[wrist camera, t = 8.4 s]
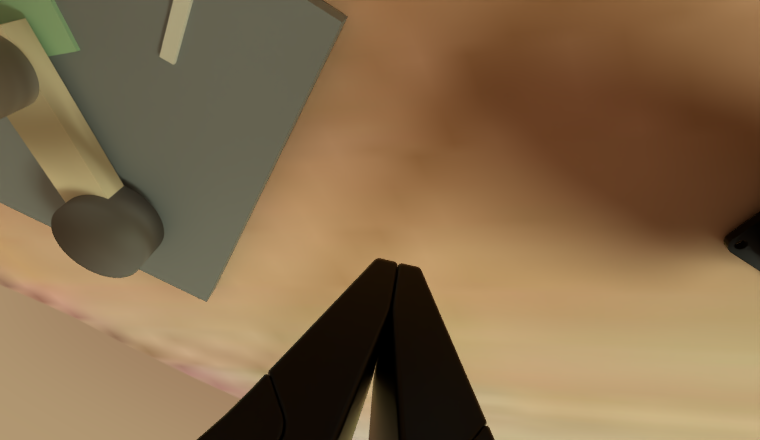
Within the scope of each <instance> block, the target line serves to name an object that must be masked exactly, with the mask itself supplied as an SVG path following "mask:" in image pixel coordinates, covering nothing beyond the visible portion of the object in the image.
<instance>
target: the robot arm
mask: <svg viewBox="0 0 760 440" xmlns="http://www.w3.org/2000/svg"><path fill="white" fill-rule="evenodd" d="M741 240H742V241H741ZM738 241H741V242H740V243H738V244H735V243H736V242H738ZM724 245H725V246H726V247H727V249H728V250H729V251H730V252H731V253H733V254H734V255H736V256H737V257H739V258H740V259H742V260H744V261H745V262H747V263H748V264H750V265H751V266H753V267H754V268H756V269H757V270H759V271H760V212H759V213H757V214H756V215H755V216H753V217H752V218H750V219H749V220H747V221H746V222H745V223H743V224H742V225H740V226H739V227H738V228H736V229H735V230H733V231H732V232H731V233H729V234H728V235H727V236H726V237H725V239H724ZM375 366H376V367H375ZM374 370H375V373H374ZM373 374H374V381H373V390H372V404H371V417H370V430H369V440H494V437H493V435H492V433H491V430H490V428H489V427H488V426H485V425H486V423H487V422H486V419H485V417H484V415H483V412H482V410H481V408H480V405H479V403H478V401H477V398H476V396H475V394H474V392H473V389H472V387H471V385H470V382H469V380H468V378H467V375H466V373H465V371H464V368H463V366H462V364H461V361H460V359H459V357H458V354H457V352H456V350H455V347H454V345H453V343H452V340H451V338H450V336H449V333H448V331H447V329H446V327H445V324H444V322H443V320H442V317H441V315H440V313H439V310H438V308H437V306H436V303H435V301H434V299H433V296H432V294H431V292H430V289H429V287H428V285H427V282H426V280H425V278H424V275H423V273H422V271H421V269H420V268H419V267H416V266H411V265H407V264H403V263H401V264H399V265H398V267H397V263H396V262H394V261H389V260H385V259H381V258H377V259H375V260H374V261H373V262H372V263H371V264H370V265H369V266H368V267H367V269H366V270H365V271H364V272H363V273H362V274H361V275H360V276H359V277H358V278H357V279H356V280H355V281H354V282H353V283H352V284H351V285H350V286H349V287H348V288H347V289H346V291H345V292H344V293H343V294H342V295H341V296H340V297H339V298H338V299H337V300H336V301H335V302H334V303H333V304H332V305H331V306H330V307H329V308H328V309H327V310H326V311H325V313H324V314H323V315H322V316H321V317H320V318H319V319H318V320H317V321H316V322H315V323H314V324H313V325H312V326H311V327H310V328H309V329H308V330H307V331H306V332H305V333H304V335H303V336H302V337H301V338H300V339H299V340H298V341H297V342H296V343H295V344H294V345H293V346H292V347H291V348H290V349H289V350H288V351H287V352H286V353H285V354H284V355H283V357H282V358H281V359H280V360H279V361H278V362H277V363H276V364H275V365H274V366H273V367H272V368H271V369H270V370H269V372H268V374H266V375H264V376H263V377H262V378H261V379H260V380H259V381H258V382H257V383H256V385H255V386H254V387H253V388H252V389H251V390H250V391H249V392H248V393H247V394H246V395H245V396H244V397H243V398H242V399H241V400H240V401H239V402H238V403H237V404H236V405H235V406H234V407H233V408H232V409H230V410H229V412H227V413H226V414H225V415H224V416H223V417H222V418H221V419H220V420H219V421H218V422H216V423H215V424H214V425H213V426H212V427H211V428H210V429H208V430H207V431H206V432H205V433H204V434H203V435H202V436H200V437H199V438H198V439H197V440H352V437H353V434H354V431H355V428H356V425H357V423H358V420H359V417H360V414H361V411H362V408H363V405H364V402H365V399H366V396H367V393H368V390H369V387H370V384H371V381H372V377H373Z"/></svg>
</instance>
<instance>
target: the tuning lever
mask: <svg viewBox="0 0 760 440" xmlns="http://www.w3.org/2000/svg"><path fill="white" fill-rule="evenodd" d="M6 116H7V118H8V119H9V121H10V122H11V124H12V125H13V126H14V128H15V129H16V131H17V132H18V134H19V135H20V137H21V138H22V140H23V141H24V143H25V144H26V146H27V147H28V148H29V150H30V151H31V153H32V154H33V156H34V157H35V159H36V160H37V162H38V163H39V165H40V166H41V167H42V169H43V170H44V172H45V173H46V175H47V176H48V178H49V179H50V181H51V182H52V184H53V185H54V186H55V188H56V189H57V191H58V192H59V194H60V195H61V197H62V198H63V200H64V201H65V204H64V205H62V206H61V207H60V208H59V209H57V210H56V211H55V213H54V214H53V216H52V219H51V228H52V232H53V235H54V237H55V239H56V241H57V243H58V244H59V246H60V247H61V248H62V250H63V251H64V252H65V253H66V254H67V255H68V256H69V257H70V258H71V259H73V260H74V261H75V262H76V263H78V264H79V265H81V266H82V267H84V268H86V269H88V270H90V271H92V272H94V273H97V274H99V275H103V276H107V277H113V278H122V277H128V276H130V275H133V274H134V273H135V272H137V271H138V269H139V268H140V267H141V266H142V265H143V264H144V263H145V261H146V260H147V259H148V258H149V257H150V256H151V255H152V253H153V252H154V251H155V250H156V249H157V248H158V247H159V246H160V244H161V243H162V241H163V238H164V227H163V223H162V220H161V218H160V216H159V214H158V213H157V211H156V210H155V209H154V207H153V206H152V205H151V204H150V203H149V202H148V201H147V200H146V199H145V198H144V197H142V196H141V195H140V194H138V193H137V192H135V191H134V190H132V189H130V188H128V187H126V186H124V185H123V183H122V182H121V180H120V178H119V177H118V175H117V173H116V172H115V170H114V168H113V166H112V165H111V163H110V161H109V160H108V158H107V156H106V154H105V153H104V151H103V149H102V148H101V146H100V144H99V143H98V141H97V139H96V137H95V136H94V134H93V132H92V131H91V129H90V127H89V126H88V124H87V122H86V120H85V119H84V117H83V115H82V114H81V112H80V110H79V108H78V107H77V105H76V103H75V102H74V100H73V98H72V97H71V95H70V93H69V91H68V90H67V88H66V86H65V85H64V83H63V81H62V80H61V78H60V76H59V74H58V73H57V71H56V69H55V68H54V66H53V64H52V63H51V61H50V59H49V57H48V56H47V54H46V52H45V51H44V49H43V47H42V45H41V44H40V42H39V40H38V39H37V37H36V35H35V34H34V32H33V30H32V28H31V27H30V25H29V23H28V22H27V20H26V18H24V19H20V20H16V21H11V22H7V23H3V24H0V119H2V118H4V117H6Z"/></svg>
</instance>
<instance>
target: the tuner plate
mask: <svg viewBox="0 0 760 440" xmlns="http://www.w3.org/2000/svg"><path fill="white" fill-rule="evenodd" d="M347 17H348V16H346V15H344V14H343V13H341V12H340V11H338V10H337V9H335V8H333V7H332V6H330V5H329V4H327V3H326V2H324V1H322V0H0V24H3V23H7V22H11V21H16V20H20V19H24V18H26V20H27V22H28V23H29V25H30V27H31V28H32V30H33V32H34V34H35V35H36V37H37V39H38V40H39V42H40V44H41V45H42V47H43V49H44V51H45V52H46V54H47V56H48V57H49V59H50V61H51V63H52V64H53V66H54V68H55V69H56V71H57V73H58V74H59V76H60V78H61V80H62V81H63V83H64V85H65V86H66V88H67V90H68V91H69V93H70V95H71V97H72V98H73V100H74V102H75V103H76V105H77V107H78V108H79V110H80V112H81V114H82V115H83V117H84V119H85V120H86V122H87V124H88V126H89V127H90V129H91V131H92V132H93V134H94V136H95V137H96V139H97V141H98V143H99V144H100V146H101V148H102V149H103V151H104V153H105V154H106V156H107V158H108V160H109V161H110V163H111V165H112V166H113V168H114V170H115V172H116V173H117V175H118V177H119V178H120V180H121V182H122V183H123V185H124V186H126V187H128V188H130V189H132V190H134V191H135V192H137V193H138V194H140V195H141V196H142V197H144V198H145V199H146V200H147V201H148V202H149V203H150V204H151V205H152V206H153V207H154V209H155V210H156V211H157V213H158V214H159V216H160V218H161V220H162V223H163V227H164V238H163V241H162V243H161V244H160V246H159V247H158V248H157V249H156V250H155V251H154V252H153V253H152V255H151V256H150V257H149V258H148V259H147V260H146V261H145V263H144V264H143V265H142V266H141V267H140V268H139V270H141V271H143V272H146V273H148V274H150V275H152V276H154V277H156V278H158V279H160V280H162V281H164V282H166V283H168V284H170V285H173V286H175V287H177V288H179V289H181V290H183V291H185V292H187V293H189V294H191V295H193V296H195V297H198V298H200V299H202V300H204V301H206V302H207V301H208V299H209V297H210V296H211V294H212V293H213V291H214V290H215V287H216V285H217V283H218V281H219V279H220V277H221V275H222V273H223V271H224V269H225V267H226V265H227V263H228V261H229V259H230V257H231V255H232V253H233V251H234V249H235V246H236V244H237V242H238V240H239V238H240V236H241V234H242V232H243V230H244V228H245V226H246V224H247V222H248V220H249V218H250V216H251V214H252V212H253V210H254V208H255V205H256V203H257V201H258V199H259V197H260V195H261V193H262V191H263V189H264V187H265V185H266V183H267V181H268V179H269V177H270V175H271V173H272V171H273V169H274V167H275V164H276V162H277V160H278V158H279V156H280V154H281V152H282V150H283V148H284V146H285V144H286V142H287V140H288V138H289V136H290V134H291V132H292V130H293V128H294V126H295V123H296V121H297V119H298V117H299V115H300V113H301V111H302V109H303V107H304V105H305V103H306V101H307V99H308V97H309V95H310V93H311V91H312V89H313V87H314V85H315V82H316V80H317V78H318V76H319V74H320V72H321V70H322V68H323V66H324V64H325V62H326V60H327V58H328V56H329V54H330V52H331V50H332V48H333V46H334V44H335V41H336V39H337V37H338V35H339V33H340V31H341V29H342V27H343V25H344V23H345V21H346V19H347ZM0 203H2V204H4V205H6V206H8V207H10V208H13V209H15V210H17V211H19V212H21V213H23V214H25V215H27V216H29V217H31V218H33V219H35V220H37V221H40V222H42V223H44V224H46V225H48V226H50V227H51V219H52V216H53V214H54V213H55V211H56V210H57V209H59V208H60V207H61V206H62V205H64V204H65V201H64V200H63V198H62V197H61V195H60V194H59V192H58V191H57V189H56V188H55V186H54V185H53V184H52V182H51V181H50V179H49V178H48V176H47V175H46V173H45V172H44V170H43V169H42V167H41V166H40V165H39V163H38V162H37V160H36V159H35V157H34V156H33V154H32V153H31V151H30V150H29V148H28V147H27V146H26V144H25V143H24V141H23V140H22V138H21V137H20V135H19V134H18V132H17V131H16V129H15V128H14V126H13V125H12V124H11V122H10V121H9V119H8V118H7V116H6V117H4V118H2V119H0Z"/></svg>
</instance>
